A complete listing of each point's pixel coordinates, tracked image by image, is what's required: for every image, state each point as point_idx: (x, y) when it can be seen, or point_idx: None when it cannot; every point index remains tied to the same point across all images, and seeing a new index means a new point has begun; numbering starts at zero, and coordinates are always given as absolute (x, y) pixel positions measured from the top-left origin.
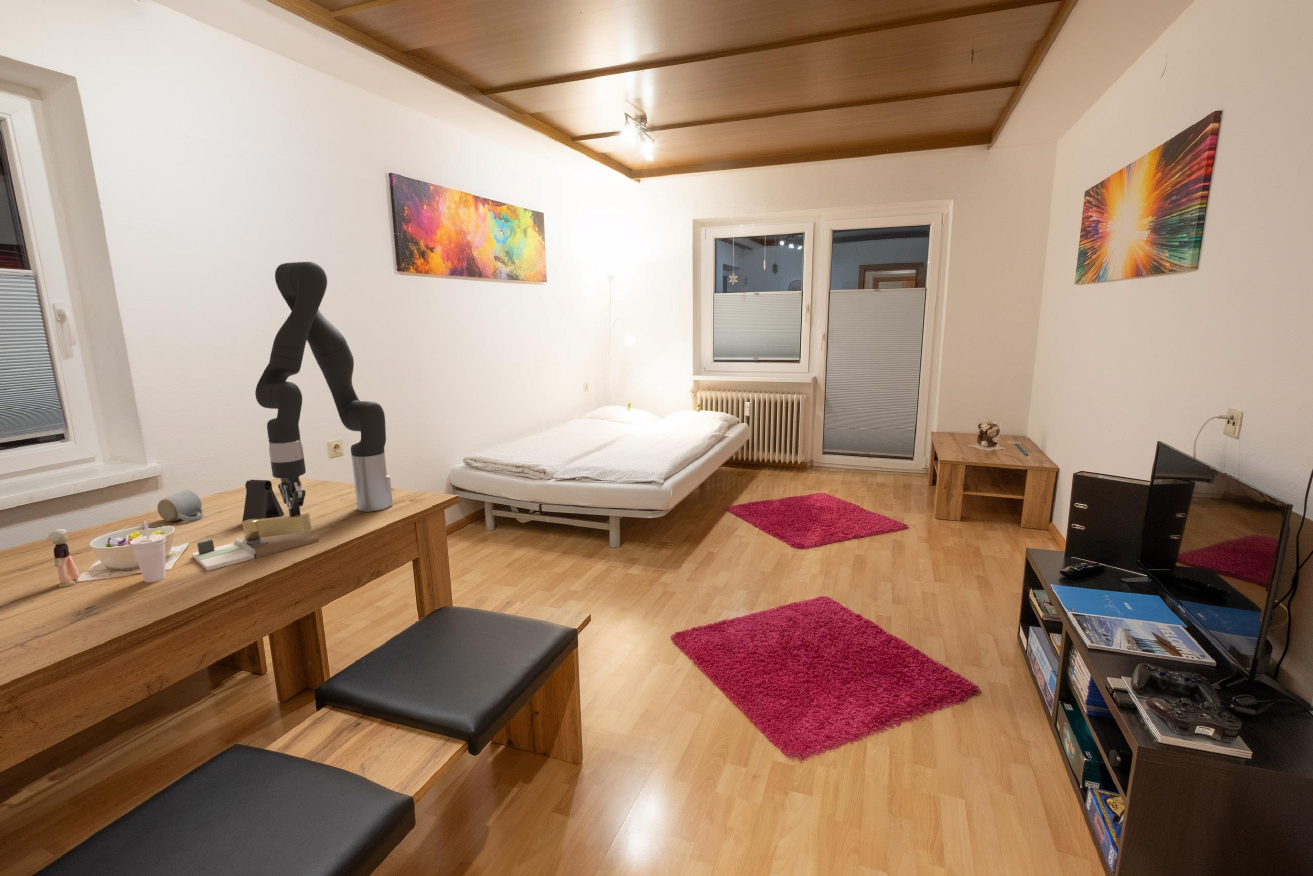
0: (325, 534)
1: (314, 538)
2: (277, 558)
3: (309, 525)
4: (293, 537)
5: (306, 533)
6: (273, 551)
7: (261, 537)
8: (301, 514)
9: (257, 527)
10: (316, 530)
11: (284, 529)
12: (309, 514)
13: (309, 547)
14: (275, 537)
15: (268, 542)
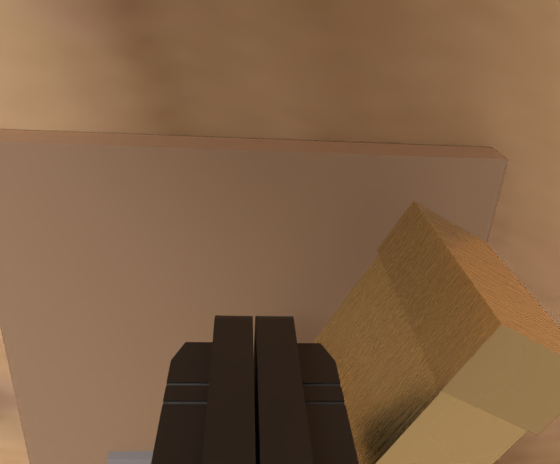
0: (358, 8)
1: (498, 195)
2: (538, 450)
3: (513, 279)
4: (291, 301)
5: (276, 185)
6: None
7: (66, 445)
8: (430, 409)
9: None
10: (128, 11)
11: None
12: (501, 316)
13: (557, 258)
14: (158, 387)
15: None
